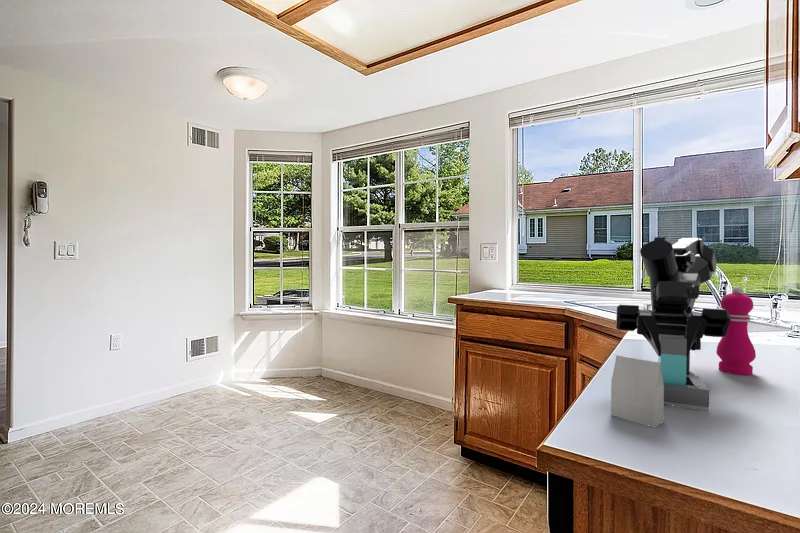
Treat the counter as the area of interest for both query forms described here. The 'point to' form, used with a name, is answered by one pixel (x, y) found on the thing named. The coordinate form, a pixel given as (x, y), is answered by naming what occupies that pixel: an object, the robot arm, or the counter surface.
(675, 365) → the plug
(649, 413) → the tea packet
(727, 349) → the pepper mill
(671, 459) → the counter surface
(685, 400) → the block
